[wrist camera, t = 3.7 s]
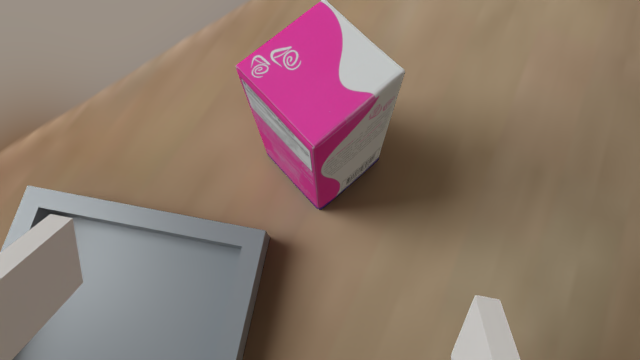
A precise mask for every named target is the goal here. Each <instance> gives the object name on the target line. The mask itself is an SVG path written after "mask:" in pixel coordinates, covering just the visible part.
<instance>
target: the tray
mask: <svg viewBox="0 0 640 360" xmlns="http://www.w3.org/2000/svg"><path fill="white" fill-rule="evenodd" d="M50 214H53V215H58V216H63V217H69V218H73V223H74V230H75V236H76V242H77V248H78V254H79V260H80V266H81V272H82V278H83V283H82V284H81V285H80V287H79V288H78V289H77V290H76V291H75V292H74V293H73V294H72V295H71V296H70V297H69V298H68V300H67V301H66V302H65V303H64V304H63V305H62V306H61V307H60V308H59V309H58V310H57V312H56V313H55V314H54V315H53V316H52V317H51V318H50V319H49V320H48V321H47V322H46V323H45V325H44V326H43V327H42V328H41V329H40V330H39V331H38V332H37V333H36V334H35V335H34V337H33V338H32V339H31V340H30V341H29V342H28V343H27V344H26V345H25V346H24V347H23V348H22V350H21V351H20V352H19V353H18V354H17V355H16V356H15V357H14V358H13V359H12V360H242V359H243V355H244V350H245V346H246V341H247V337H248V332H249V328H250V324H251V319H252V315H253V310H254V306H255V301H256V297H257V292H258V288H259V284H260V279H261V275H262V270H263V266H264V261H265V257H266V253H267V248H268V244H269V239H270V237H269V235H268V234H267V232H266V231H264V230H259V229H254V228H249V227H243V226H238V225H233V224H228V223H222V222H217V221H212V220H207V219H201V218H196V217H191V216H186V215H180V214H175V213H170V212H164V211H159V210H154V209H149V208H143V207H138V206H133V205H128V204H122V203H117V202H112V201H107V200H101V199H96V198H91V197H86V196H80V195H75V194H70V193H64V192H59V191H54V190H49V189H43V188H38V187H33V186H27V188H26V191H25V193H24V196H23V198H22V201H21V203H20V205H19V208H18V210H17V213H16V215H15V218H14V220H13V223H12V225H11V228H10V230H9V233H8V235H7V237H6V240H5V242H4V245H3V247H2V250H1V252H2V251H3V250H4V249H6V248H7V247H8V246H10V245H11V244H12V243H13V242H15V241H16V240H17V239H19V238H20V237H21V236H23V235H24V234H25V233H26V232H28V231H29V230H30V229H32V228H33V227H34V226H35V225H37V224H38V223H39V222H41V221H42V220H43V219H45V218H46V217H47V216H48V215H50ZM1 252H0V253H1Z"/></svg>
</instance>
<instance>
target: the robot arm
mask: <svg viewBox="0 0 640 360" xmlns="http://www.w3.org/2000/svg"><path fill="white" fill-rule="evenodd" d="M82 283H83V278H82V272H81V266H80V260H79V254H78V248H77V242H76V236H75V230H74V223H73V218H69V217H63V216H58V215H53V214H50V215H48V216H47V217H46V218H45V219H43V220H42V221H41V222H39V223H38V224H37V225H35V226H34V227H33V228H32V229H30V230H29V231H28V232H26V233H25V234H24V235H23V236H21V237H20V238H19V239H17V240H16V241H15V242H13V243H12V244H11V245H10V246H8V247H7V248H6V249H4V250H3V251H2V252H1V253H0V360H12V359H13V358H14V357H15V356H16V355H17V354H18V353H19V352H20V351H21V350H22V348H23V347H24V346H25V345H26V344H27V343H28V342H29V341H30V340H31V339H32V338H33V337H34V335H35V334H36V333H37V332H38V331H39V330H40V329H41V328H42V327H43V326H44V325H45V323H46V322H47V321H48V320H49V319H50V318H51V317H52V316H53V315H54V314H55V313H56V312H57V310H58V309H59V308H60V307H61V306H62V305H63V304H64V303H65V302H66V301H67V300H68V298H69V297H70V296H71V295H72V294H73V293H74V292H75V291H76V290H77V289H78V288H79V287H80V285H81V284H82ZM451 360H520V357H519V354H518V351H517V348H516V346H515V343H514V340H513V337H512V334H511V331H510V328H509V325H508V322H507V319H506V316H505V313H504V310H503V307H502V304H501V302H500V300H499V299H494V298H489V297H483V296H478V295H475V296H474V299H473V301H472V304H471V306H470V309H469V311H468V314H467V316H466V319H465V321H464V324H463V326H462V329H461V331H460V334H459V336H458V339H457V341H456V344H455V346H454V349H453V351H452V354H451Z"/></svg>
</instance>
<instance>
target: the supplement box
mask: <svg viewBox="0 0 640 360" xmlns="http://www.w3.org/2000/svg"><path fill="white" fill-rule="evenodd" d="M236 69H237V72H238V75H239V78H240V80H241V83H242V86H243V89H244V91H245V94H246V97H247V99H248V102H249V105H250V108H251V110H252V113H253V116H254V118H255V121H256V124H257V126H258V129H259V132H260V135H261V137H262V140H263V143H264V146H265V148H266V151H267V154H268V155H269V156H270V158H271V159H272V160H273V161H274V162H275V163H276V164H277V165H278V166H279V168H280V169H281V170H282V171H283V172H284V173H285V174H286V175H287V176H288V177H289V179H290V180H291V181H292V182H293V183H294V184H295V185H296V186H297V187H298V188H299V190H300V191H301V192H302V193H303V194H304V195H305V196H306V197H307V198H308V199H309V200H310V201H311V203H312V204H313V205H314V206H315V207H316V208H317V209H319V210H321V209H322V208H324V207H325V206H326V205H328V204H329V203H330V202H331V201H332V200H334V199H335V198H336V197H337V196H338V195H339V194H341V193H342V192H343V191H344V190H345V189H346V188H347V187H349V186H350V185H351V184H352V183H353V182H354V181H355V180H357V179H358V178H359V177H360V176H361V175H362V174H363V173H364V172H366V171H367V170H368V169H369V168H370V167H371V166H372V165H373V164H374V163H375V162H377V161H378V160H379V155H380V152H381V148H382V145H383V142H384V138H385V135H386V132H387V129H388V125H389V122H390V119H391V116H392V113H393V110H394V106H395V103H396V99H397V96H398V93H399V90H400V87H401V83H402V80H403V77H404V74H405V70H404V69H403V68H402V67H400V66H399V65H398V64H397V63H396V62H394V61H393V60H392V59H391V58H390V57H389V56H387V55H386V54H385V53H384V52H383V51H382V50H380V49H379V48H378V47H377V46H376V45H375V44H374V43H372V42H371V41H370V40H369V39H368V38H367V37H366V36H365V35H363V34H362V33H361V32H360V31H359V30H358V29H357V28H356V27H355V26H354V25H353V24H351V23H350V22H349V21H348V20H347V19H346V18H345V17H344V16H343V15H342V14H341V13H339V12H338V11H337V10H336V9H335V8H334V7H333V6H332V5H331V4H330V3H328V2H327V1H326V0H321V1H320V2H319V3H318V4H316V5H315V6H313V7H312V8H311V9H310V10H308V11H307V12H306V13H304V14H303V15H302V16H300V17H299V18H298V19H296V20H295V21H294V22H293V23H291V24H290V25H289V26H287V27H286V28H285V29H283V30H282V31H281V32H279V33H278V34H277V35H276V36H274V37H273V38H272V39H270V40H269V41H268V42H266V43H265V44H264V45H262V46H261V47H260V48H258V49H257V50H256V51H254V52H253V53H252V54H250V55H249V56H248V57H246V58H245V59H244V60H242V61H241V62H240V63H239V64H237V65H236Z"/></svg>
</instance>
